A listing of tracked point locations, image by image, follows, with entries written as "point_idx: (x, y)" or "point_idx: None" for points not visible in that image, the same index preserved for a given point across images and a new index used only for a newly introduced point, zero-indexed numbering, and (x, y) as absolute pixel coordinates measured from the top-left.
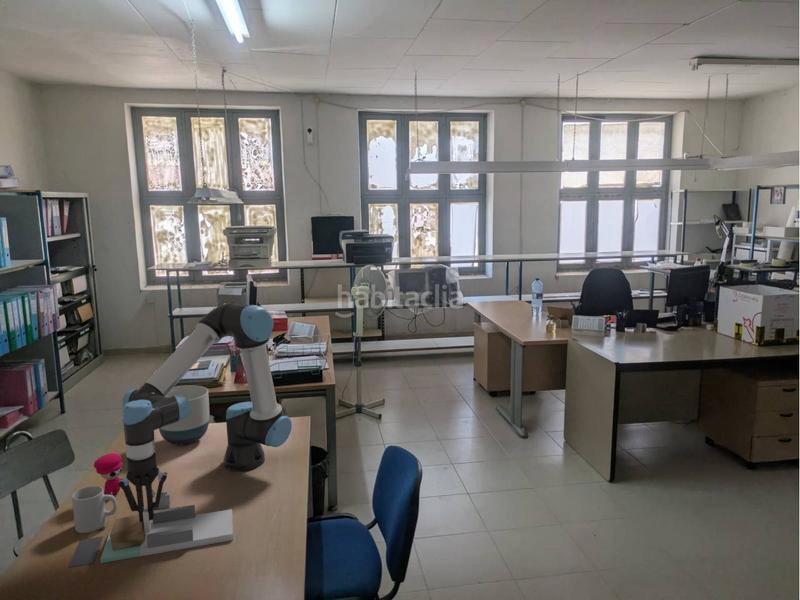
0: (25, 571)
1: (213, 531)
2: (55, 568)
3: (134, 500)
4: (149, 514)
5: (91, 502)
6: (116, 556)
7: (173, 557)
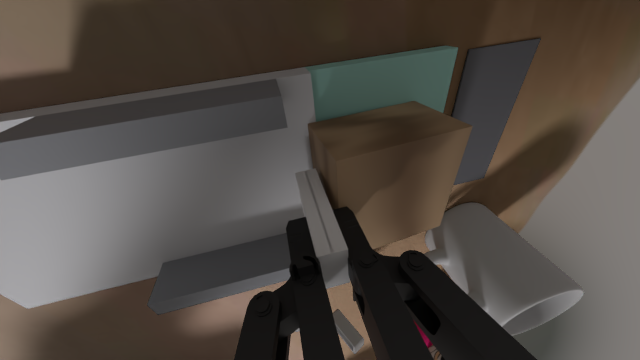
0: (634, 46)
1: None
2: (569, 44)
3: (429, 330)
4: (308, 244)
5: (526, 283)
6: (400, 56)
7: (123, 21)
